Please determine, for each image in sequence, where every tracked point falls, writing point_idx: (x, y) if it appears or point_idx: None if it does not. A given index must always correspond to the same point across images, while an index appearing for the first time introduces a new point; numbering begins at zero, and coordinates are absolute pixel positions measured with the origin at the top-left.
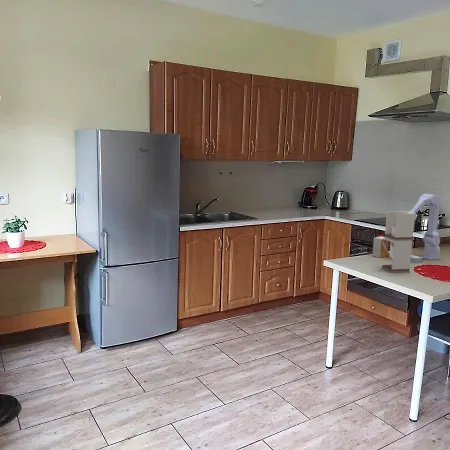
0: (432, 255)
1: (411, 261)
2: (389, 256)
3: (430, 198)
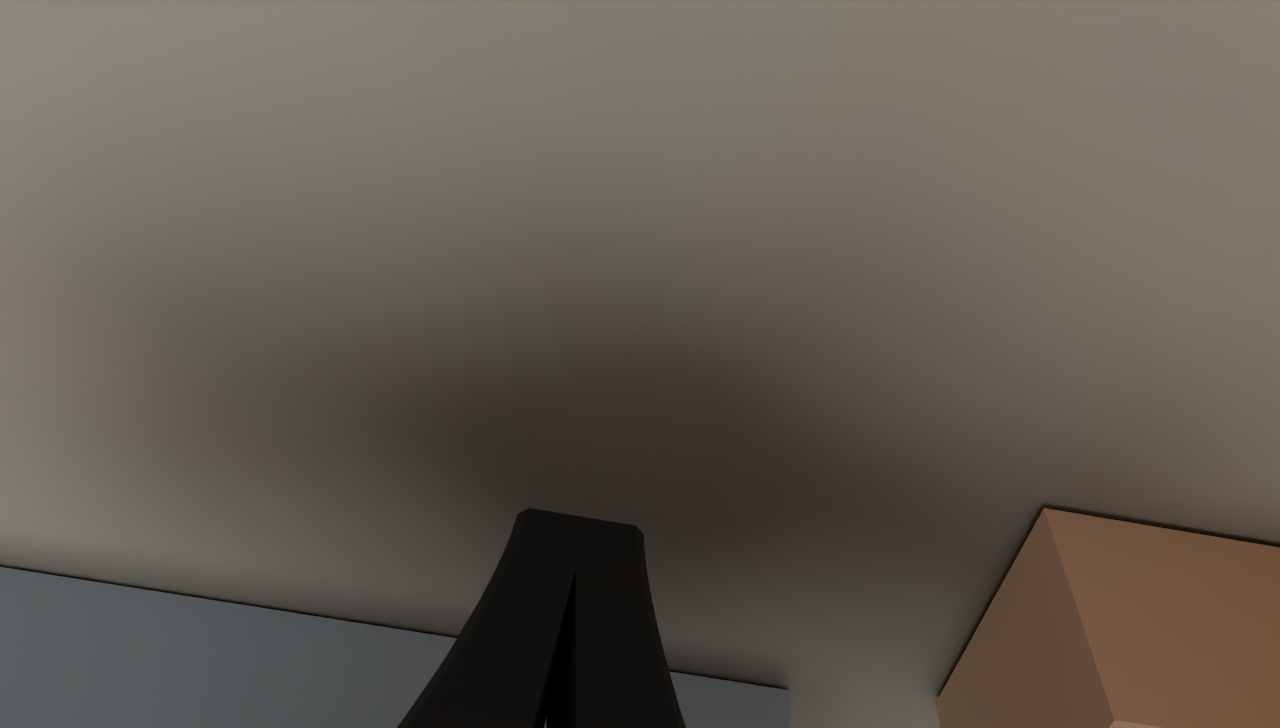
0: None
1: (21, 601)
2: (1249, 572)
3: None
